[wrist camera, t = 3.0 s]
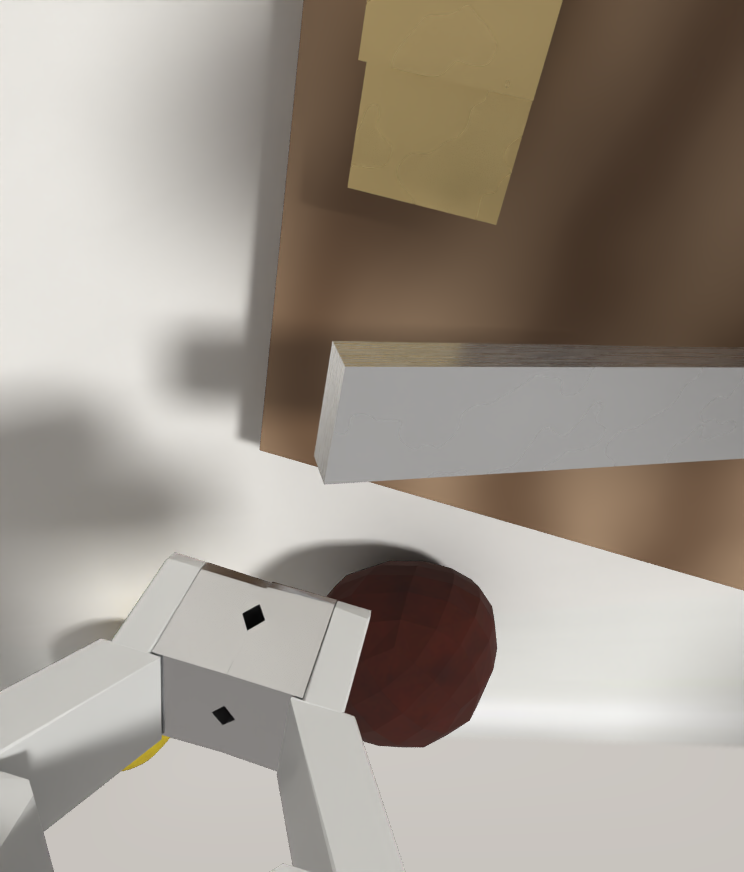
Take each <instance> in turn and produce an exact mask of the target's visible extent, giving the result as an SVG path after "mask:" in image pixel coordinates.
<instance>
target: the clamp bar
mask: <svg viewBox="0 0 744 872" xmlns="http://www.w3.org/2000/svg"><path fill="white" fill-rule="evenodd" d="M314 457H315V460H316V463H317V466H318V469H319V471H320V474H321V477H322V480H323V483H324V484H338V483H354V482H371V481H387V480H403V479H419V478H436V477H452V476H468V475H484V474H501V473H517V472H533V471H549V470H566V469H582V468H598V467H614V466H631V465H647V464H663V463H679V462H696V461H712V460H728V459H744V348H738V347H676V346H614V345H552V344H490V343H427V342H365V341H332V347H331V353H330V359H329V366H328V372H327V378H326V384H325V390H324V397H323V403H322V409H321V415H320V421H319V428H318V434H317V440H316V446H315V452H314Z"/></svg>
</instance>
